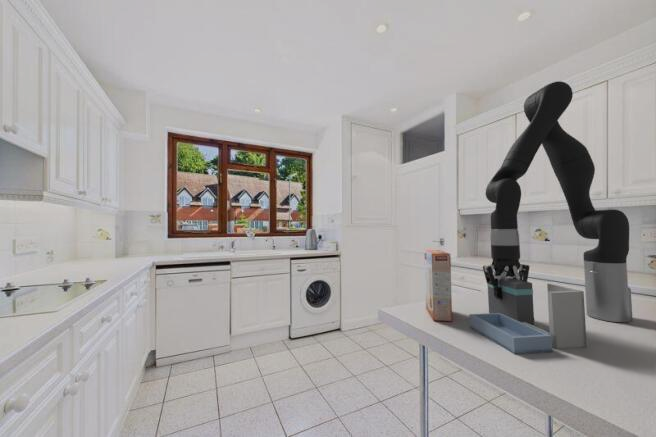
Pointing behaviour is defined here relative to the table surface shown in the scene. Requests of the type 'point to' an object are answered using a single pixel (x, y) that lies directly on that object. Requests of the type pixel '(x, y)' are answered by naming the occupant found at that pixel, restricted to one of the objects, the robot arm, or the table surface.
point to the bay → (565, 317)
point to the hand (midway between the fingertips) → (507, 298)
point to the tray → (511, 333)
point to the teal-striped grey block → (513, 300)
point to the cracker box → (438, 285)
